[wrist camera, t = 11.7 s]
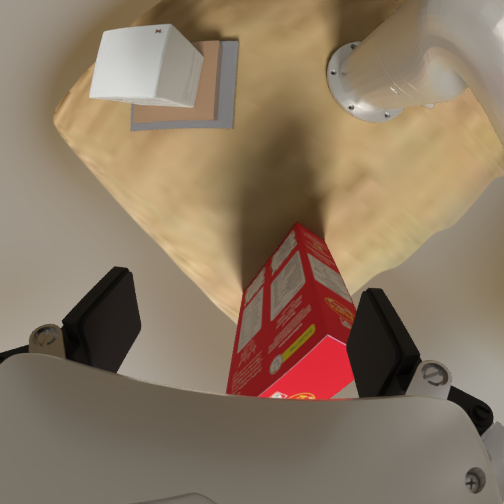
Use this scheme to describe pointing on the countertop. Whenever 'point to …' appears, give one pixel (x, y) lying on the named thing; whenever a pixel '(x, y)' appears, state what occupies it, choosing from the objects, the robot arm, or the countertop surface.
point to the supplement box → (147, 67)
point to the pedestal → (199, 94)
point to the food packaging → (294, 325)
